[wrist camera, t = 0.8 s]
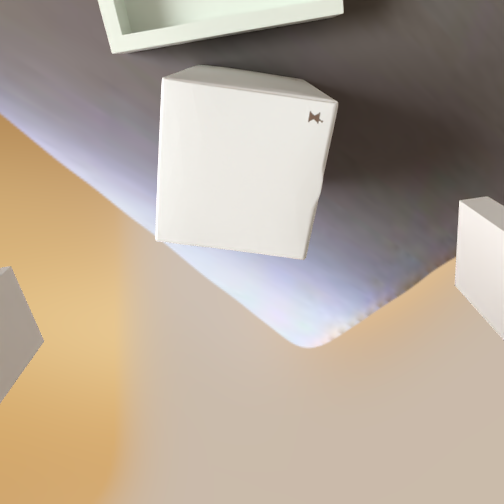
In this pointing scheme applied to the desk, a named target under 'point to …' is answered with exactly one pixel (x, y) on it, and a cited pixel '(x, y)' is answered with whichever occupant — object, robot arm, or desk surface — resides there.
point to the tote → (201, 19)
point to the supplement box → (241, 160)
